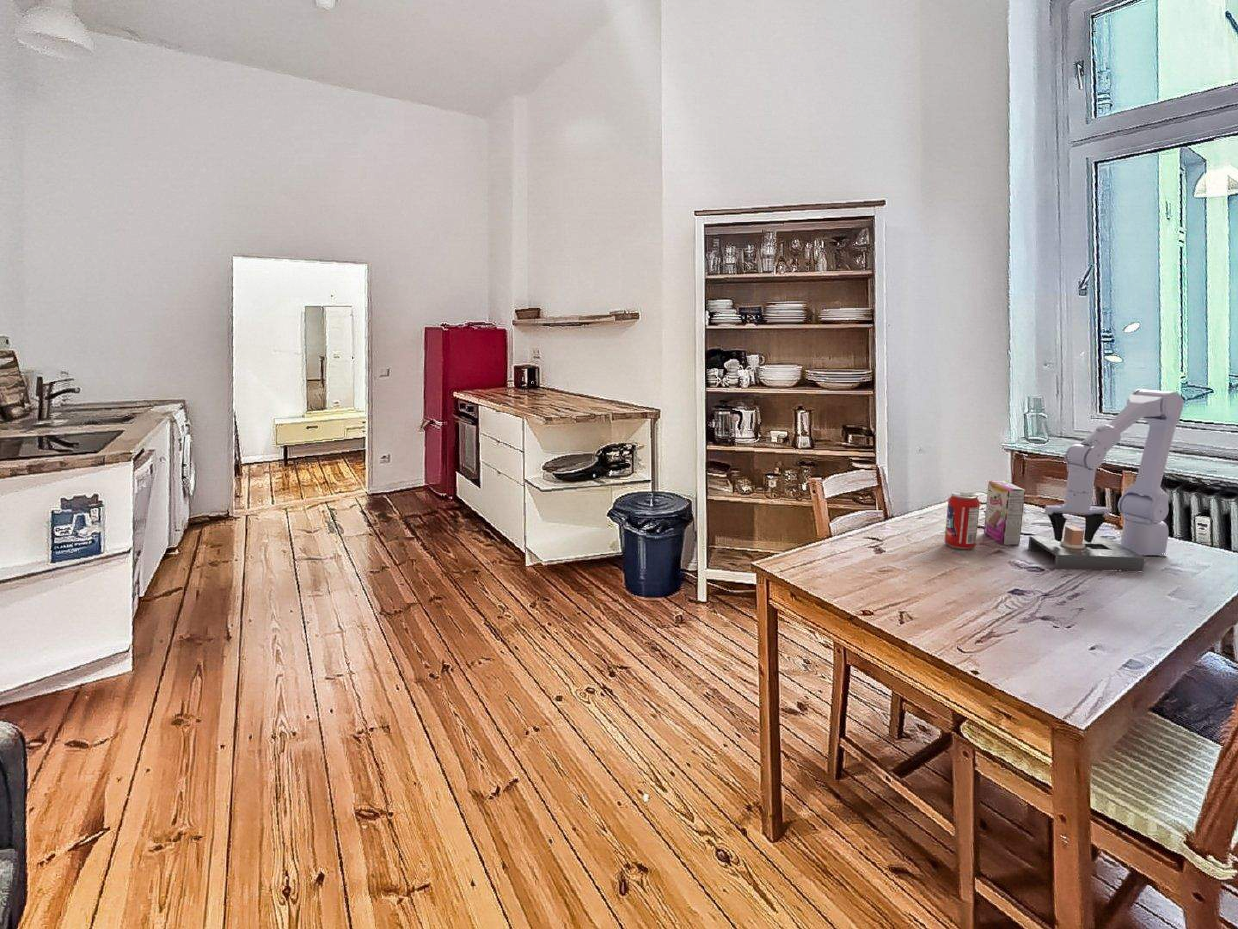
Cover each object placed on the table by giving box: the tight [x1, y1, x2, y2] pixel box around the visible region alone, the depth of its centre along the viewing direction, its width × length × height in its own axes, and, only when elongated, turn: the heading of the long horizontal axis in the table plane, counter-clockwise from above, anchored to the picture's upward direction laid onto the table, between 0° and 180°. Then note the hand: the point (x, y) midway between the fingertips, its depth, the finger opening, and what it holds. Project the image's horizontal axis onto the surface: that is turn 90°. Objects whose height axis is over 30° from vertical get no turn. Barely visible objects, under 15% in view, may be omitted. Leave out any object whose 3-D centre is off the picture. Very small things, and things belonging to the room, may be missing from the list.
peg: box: [1060, 525, 1085, 549], centre depth 176 cm, size 5×5×7 cm
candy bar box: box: [983, 480, 1026, 546], centre depth 193 cm, size 11×5×16 cm, turn 179°
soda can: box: [943, 491, 981, 551], centre depth 187 cm, size 8×8×15 cm
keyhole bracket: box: [1027, 535, 1146, 572], centre depth 176 cm, size 20×16×4 cm
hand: (1072, 540), depth 176 cm, fingers open, 7 cm apart
